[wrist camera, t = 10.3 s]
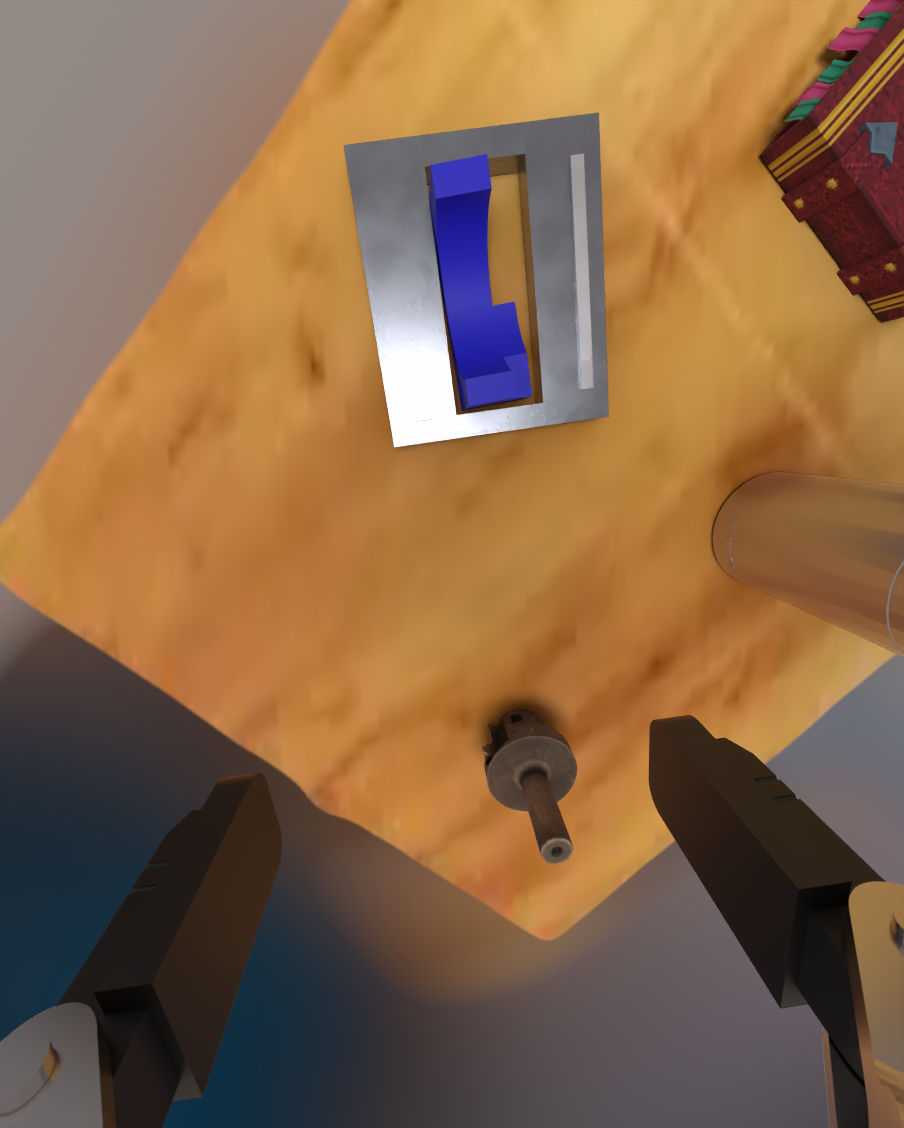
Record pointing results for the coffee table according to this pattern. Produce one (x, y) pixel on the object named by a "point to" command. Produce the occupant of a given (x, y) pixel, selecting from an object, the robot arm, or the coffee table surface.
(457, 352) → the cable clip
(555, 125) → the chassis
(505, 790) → the industrial component
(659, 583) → the coffee table surface
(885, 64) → the decorative book
